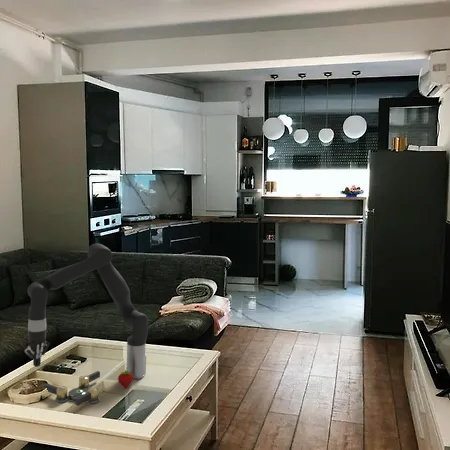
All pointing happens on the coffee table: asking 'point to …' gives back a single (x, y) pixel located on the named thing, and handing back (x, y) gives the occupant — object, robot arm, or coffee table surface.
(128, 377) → the strawberry
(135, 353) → the robot arm
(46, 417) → the coffee table surface
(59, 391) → the foot screw
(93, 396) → the foot screw
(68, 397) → the levelling base
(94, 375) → the footscrew back
